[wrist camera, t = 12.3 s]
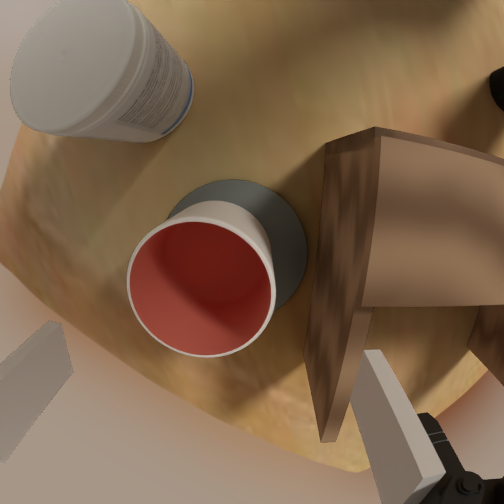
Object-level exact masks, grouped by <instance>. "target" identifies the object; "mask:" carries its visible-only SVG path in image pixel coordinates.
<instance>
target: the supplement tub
mask: <svg viewBox="0 0 504 504" xmlns="http://www.w3.org/2000/svg"><path fill="white" fill-rule="evenodd" d="M10 95H11V101H12V104H13V108H14V110H15V112H16V114H17V116H18V117H19V119H20V120H21V121H22V122H23V123H24V124H25V125H26V126H28V127H29V128H31V129H33V130H36V131H40V132H45V133H48V134H51V135H56V136H69V137H80V138H93V139H104V140H114V141H123V142H133V143H146V142H152V141H155V140H158V139H160V138H162V137H164V136H166V135H167V134H169V133H170V132H171V131H173V130H174V129H175V128H176V127H177V126H178V125H179V124H180V123H181V122H182V121H183V119H184V118H185V117H186V115H187V113H188V111H189V109H190V107H191V104H192V101H193V96H194V81H193V77H192V74H191V71H190V69H189V67H188V66H187V64H186V63H185V62H184V61H183V59H182V58H181V57H180V56H179V55H178V53H177V52H176V51H175V50H174V49H173V48H172V46H171V45H170V44H169V43H168V42H167V41H166V39H165V38H164V37H163V36H162V35H161V34H160V33H159V31H158V30H157V29H156V28H155V27H154V26H153V25H152V23H151V22H150V21H149V20H148V19H147V18H146V17H145V16H144V15H143V14H142V13H141V12H140V11H139V10H138V9H137V8H136V7H135V6H134V5H132V4H131V3H130V2H128V1H126V0H61V1H59V2H58V3H56V4H55V5H53V6H52V7H51V8H50V9H48V10H47V11H46V12H45V13H44V14H43V15H42V16H41V17H40V18H39V19H38V20H37V21H36V22H35V23H34V25H33V26H32V27H31V29H30V30H29V31H28V33H27V34H26V36H25V38H24V39H23V41H22V43H21V45H20V47H19V49H18V52H17V54H16V56H15V59H14V63H13V66H12V71H11V78H10Z"/></svg>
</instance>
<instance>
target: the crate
mask: <svg viewBox="0 0 504 504" xmlns="http://www.w3.org/2000/svg"><path fill="white" fill-rule="evenodd" d="M478 305H481V306H480V309H479V313H478V316H477V319H476V322H475V325H474V328H473V331H472V334H471V337H470V340H469V343H468V346H467V347H468V348H469V349H470V350H471V351H472V353H473V354H474V355H475V356H476V357H477V358H478V359H479V360H480V361H481V362H482V363H483V364H484V365H485V366H486V367H487V368H488V369H489V371H490V372H491V373H492V374H493V375H494V376H495V377H496V378H497V379H498V380H499V381H500V382H501V384H502V385H503V386H504V159H502V158H499V157H496V156H493V155H490V154H487V153H484V152H480V151H477V150H474V149H470V148H467V147H463V146H460V145H456V144H452V143H449V142H445V141H441V140H437V139H433V138H428V137H424V136H420V135H415V134H411V133H406V132H401V131H396V130H391V129H386V128H380V127H372V128H369V129H366V130H363V131H360V132H357V133H354V134H351V135H348V136H345V137H342V138H339V139H336V140H333V141H330V142H327V143H326V150H325V166H324V180H323V193H322V205H321V217H320V227H319V237H318V247H317V256H316V265H315V274H314V282H313V290H312V298H311V305H310V313H309V320H308V327H307V334H306V340H305V347H304V353H303V356H304V360H305V365H306V370H307V375H308V380H309V385H310V390H311V395H312V400H313V405H314V410H315V415H316V420H317V425H318V431H319V436H320V441H321V443H326V442H336V440H337V437H338V434H339V431H340V428H341V425H342V422H343V419H344V416H345V413H346V410H347V407H348V404H349V401H350V397H351V393H352V390H353V387H354V383H355V380H356V376H357V373H358V369H359V366H360V362H361V358H362V354H363V350H364V347H365V343H366V339H367V334H368V330H369V326H370V321H371V317H372V312H373V308H374V307H440V306H478Z"/></svg>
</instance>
